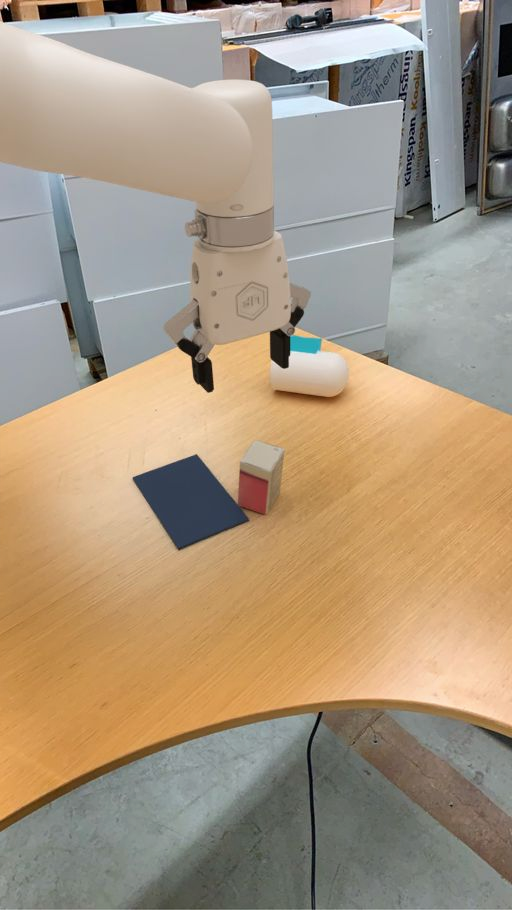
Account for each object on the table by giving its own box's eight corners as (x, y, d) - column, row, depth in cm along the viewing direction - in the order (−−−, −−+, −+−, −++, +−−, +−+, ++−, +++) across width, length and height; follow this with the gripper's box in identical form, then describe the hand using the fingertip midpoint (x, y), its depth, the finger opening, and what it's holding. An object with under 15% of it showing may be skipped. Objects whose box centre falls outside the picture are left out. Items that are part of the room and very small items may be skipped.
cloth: (178, 550, 81) (178, 547, 81) (132, 479, 92) (132, 477, 92) (249, 520, 85) (249, 518, 84) (196, 456, 96) (196, 453, 96)
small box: (251, 482, 90) (254, 438, 85) (280, 492, 89) (285, 447, 84) (236, 506, 86) (238, 460, 81) (266, 516, 85) (270, 471, 80)
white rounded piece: (348, 344, 100) (273, 335, 103) (341, 402, 102) (268, 392, 105) (360, 338, 111) (291, 331, 114) (353, 391, 113) (286, 383, 116)
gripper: (170, 254, 59) (188, 412, 69) (330, 218, 65) (324, 368, 76) (140, 231, 64) (160, 381, 74) (290, 200, 70) (290, 342, 81)
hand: (243, 375), depth 75 cm, fingers open, 9 cm apart
